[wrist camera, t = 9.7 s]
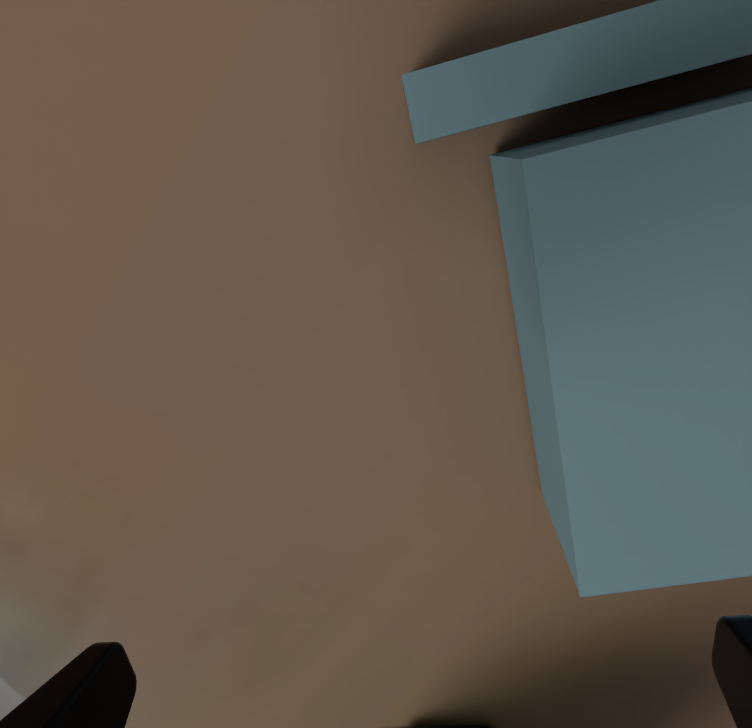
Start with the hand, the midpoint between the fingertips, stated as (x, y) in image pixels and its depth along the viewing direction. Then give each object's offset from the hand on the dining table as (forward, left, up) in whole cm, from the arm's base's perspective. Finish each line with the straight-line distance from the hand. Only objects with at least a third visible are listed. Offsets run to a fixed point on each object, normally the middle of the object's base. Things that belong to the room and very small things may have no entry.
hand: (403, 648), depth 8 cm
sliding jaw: (0, -8, -11) cm, 13 cm away
